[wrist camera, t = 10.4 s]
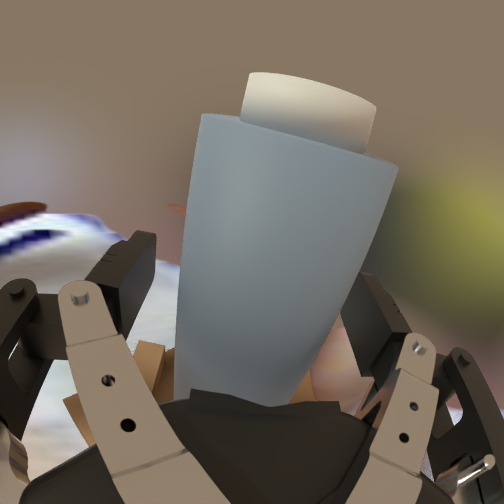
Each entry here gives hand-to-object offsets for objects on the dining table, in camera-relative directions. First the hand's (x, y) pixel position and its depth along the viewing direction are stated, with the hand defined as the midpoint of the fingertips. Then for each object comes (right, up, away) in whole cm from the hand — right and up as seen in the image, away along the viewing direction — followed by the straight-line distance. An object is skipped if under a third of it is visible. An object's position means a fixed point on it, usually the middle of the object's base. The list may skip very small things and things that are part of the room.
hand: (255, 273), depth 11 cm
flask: (-2, -10, +3) cm, 11 cm away
